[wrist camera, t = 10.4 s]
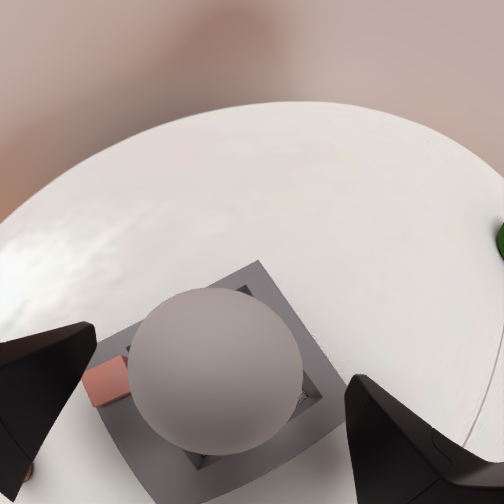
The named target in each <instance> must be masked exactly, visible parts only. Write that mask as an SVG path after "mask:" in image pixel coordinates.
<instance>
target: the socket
mask: <svg viewBox="0 0 504 504" xmlns="http://www.w3.org/2000/svg"><path fill="white" fill-rule="evenodd" d="M207 287H208V288H226V289H230V290H235V291H239V292H242V293H244V294H247V295H250V296H252V297H254V298H256V299H257V300H259V301H261V302H262V303H264V304H266V305H267V306H268V307H269V308H271V309H272V310H273V311H274V312H275V313H276V314H277V315H278V316H279V317H281V319H282V320H283V321H284V323H285V324H286V325H287V327H288V328H289V329H290V330H291V332H292V334H293V336H294V338H295V340H296V342H297V344H298V347H299V351H300V355H301V358H302V366H303V382H302V389H303V390H304V391H305V393H306V394H307V396H308V398H306V399H305V400H304V401H302V402H301V403H299V404H298V405H296V408H295V410H294V412H293V413H292V415H291V416H290V418H289V420H288V421H287V423H286V424H285V425H284V426H283V427H282V428H281V429H280V430H279V431H278V432H277V433H276V434H275V435H274V436H273V437H271V438H270V439H268V440H267V441H265V442H264V443H262V444H261V445H259V446H257V447H255V448H252V449H249V450H247V451H244V452H241V453H236V454H230V455H208V456H206V457H204V458H202V456H201V455H200V454H199V453H195V452H191V451H187V450H185V449H183V448H180V447H178V446H176V445H174V444H172V443H170V442H169V441H167V440H166V439H165V438H163V437H162V436H160V435H159V434H158V433H156V432H155V431H154V430H153V428H152V427H151V426H150V425H149V424H148V423H147V422H146V421H145V420H144V418H143V417H142V415H141V413H140V412H139V410H138V408H137V406H136V405H135V402H134V400H133V397H132V394H131V391H130V388H129V380H128V372H127V367H128V355H129V351H130V347H131V344H132V340H133V338H134V336H135V334H136V332H137V330H138V328H139V326H140V324H141V323H142V322H143V321H144V320H145V319H144V320H142V321H140V322H138V323H136V324H134V325H132V326H130V327H128V328H126V329H124V330H122V331H120V332H118V333H116V334H114V335H112V336H110V337H108V338H106V339H104V340H102V341H100V342H98V343H97V348H96V350H95V352H94V354H93V356H92V358H91V360H90V362H89V364H88V366H87V368H86V370H85V372H84V374H83V376H82V378H81V380H82V382H83V385H84V387H85V389H86V392H87V394H88V396H89V398H90V401H91V403H92V405H93V407H96V408H97V410H98V412H99V414H100V416H101V418H102V420H103V422H104V424H105V426H106V428H107V430H108V432H109V433H110V435H111V437H112V439H113V441H114V442H115V444H116V446H117V448H118V449H119V451H120V453H121V454H122V456H123V457H124V459H125V461H126V462H127V464H128V465H129V467H130V468H131V470H132V471H133V473H134V474H135V476H136V477H137V479H138V480H139V481H140V483H141V484H142V486H143V487H144V488H145V490H146V491H147V492H148V494H149V495H150V496H151V498H152V499H153V500H154V501H155V503H156V504H201V503H204V502H206V501H209V500H211V499H214V498H216V497H219V496H221V495H223V494H225V493H228V492H230V491H232V490H234V489H236V488H239V487H241V486H243V485H245V484H247V483H249V482H251V481H253V480H255V479H257V478H259V477H260V476H262V475H264V474H266V473H268V472H270V471H271V470H273V469H275V468H277V467H278V466H280V465H282V464H283V463H285V462H287V461H288V460H290V459H292V458H293V457H295V456H296V455H298V454H299V453H301V452H302V451H304V450H305V449H307V448H308V447H310V446H311V445H313V444H314V443H316V442H317V441H318V440H320V439H321V438H323V437H324V436H325V435H327V434H328V433H329V432H331V431H332V430H333V429H335V428H336V427H337V426H339V425H340V424H341V423H342V422H344V421H345V420H346V416H345V403H344V394H345V391H346V389H347V386H346V384H345V383H344V381H343V380H342V379H341V377H340V376H339V374H338V373H337V371H336V370H335V369H334V367H333V366H332V364H331V363H330V361H329V360H328V359H327V357H326V356H325V354H324V353H323V351H322V350H321V349H320V347H319V346H318V344H317V343H316V341H315V340H314V339H313V337H312V336H311V334H310V333H309V331H308V330H307V329H306V327H305V326H304V324H303V323H302V321H301V320H300V319H299V317H298V316H297V314H296V313H295V311H294V310H293V309H292V307H291V306H290V304H289V303H288V301H287V300H286V299H285V297H284V296H283V294H282V293H281V291H280V290H279V289H278V287H277V286H276V284H275V283H274V281H273V280H272V279H271V277H270V276H269V274H268V273H267V271H266V270H265V269H264V267H263V266H262V264H261V263H260V261H259V260H257V261H255V262H253V263H251V264H249V265H248V266H246V267H244V268H242V269H240V270H238V271H236V272H234V273H232V274H230V275H229V276H227V277H225V278H223V279H221V280H219V281H217V282H215V283H213V284H211V285H209V286H207ZM207 287H206V288H207Z"/></svg>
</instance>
